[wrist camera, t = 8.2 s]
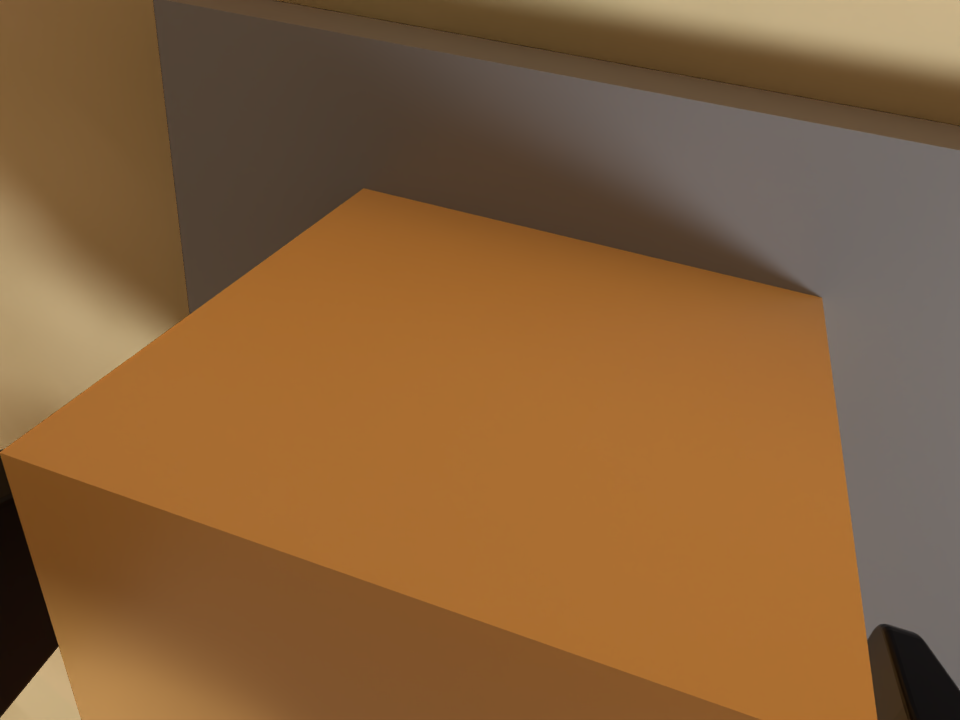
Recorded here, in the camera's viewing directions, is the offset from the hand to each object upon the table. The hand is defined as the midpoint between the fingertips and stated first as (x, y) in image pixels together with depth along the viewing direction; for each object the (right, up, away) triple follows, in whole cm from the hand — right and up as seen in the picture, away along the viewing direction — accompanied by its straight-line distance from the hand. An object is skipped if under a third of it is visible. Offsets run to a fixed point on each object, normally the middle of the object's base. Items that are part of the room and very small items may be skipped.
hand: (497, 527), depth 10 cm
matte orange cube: (+1, +1, +2) cm, 2 cm away
